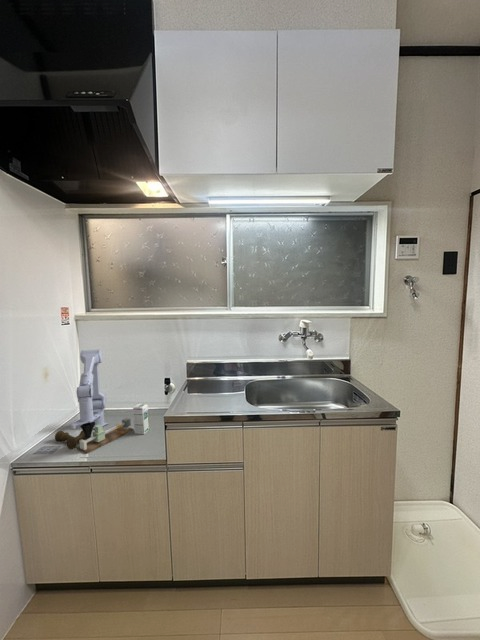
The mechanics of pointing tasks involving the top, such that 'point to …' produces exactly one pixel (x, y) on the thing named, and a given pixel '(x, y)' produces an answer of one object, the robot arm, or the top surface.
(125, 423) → the linear slide rail
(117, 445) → the top surface
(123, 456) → the top surface
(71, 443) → the kendama
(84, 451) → the board
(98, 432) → the sleeve
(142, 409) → the syrup box
